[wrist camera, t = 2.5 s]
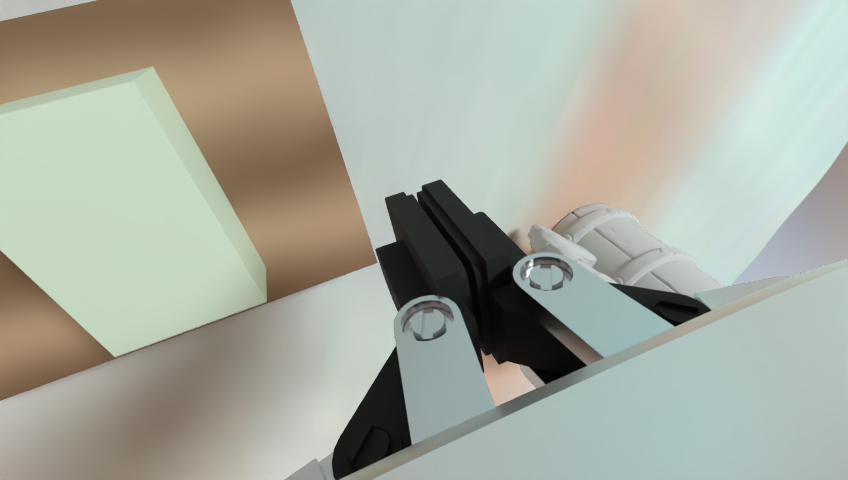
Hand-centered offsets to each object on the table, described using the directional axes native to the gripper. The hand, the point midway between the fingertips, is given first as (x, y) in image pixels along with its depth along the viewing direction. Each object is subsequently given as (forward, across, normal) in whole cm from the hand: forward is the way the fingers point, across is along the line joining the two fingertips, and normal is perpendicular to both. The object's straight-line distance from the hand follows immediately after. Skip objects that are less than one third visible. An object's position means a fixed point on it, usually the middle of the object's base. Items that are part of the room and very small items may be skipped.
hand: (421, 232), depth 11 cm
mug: (+11, -13, +12) cm, 21 cm away
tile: (+6, +9, -1) cm, 11 cm away
